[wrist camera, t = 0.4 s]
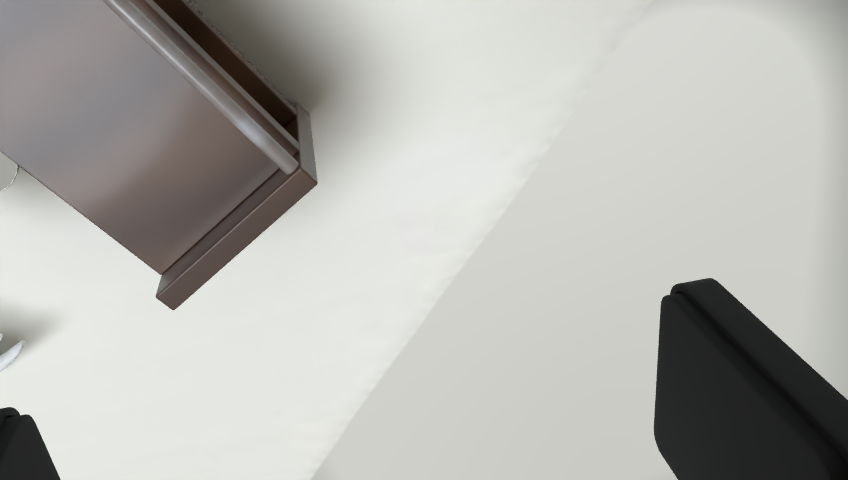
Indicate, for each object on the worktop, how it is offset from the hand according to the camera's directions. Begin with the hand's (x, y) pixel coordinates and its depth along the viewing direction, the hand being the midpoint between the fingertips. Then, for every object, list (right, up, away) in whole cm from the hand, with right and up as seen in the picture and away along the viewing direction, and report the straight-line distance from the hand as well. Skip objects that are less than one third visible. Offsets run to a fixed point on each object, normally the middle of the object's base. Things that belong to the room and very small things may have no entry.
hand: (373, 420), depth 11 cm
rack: (-16, +13, +31) cm, 37 cm away
